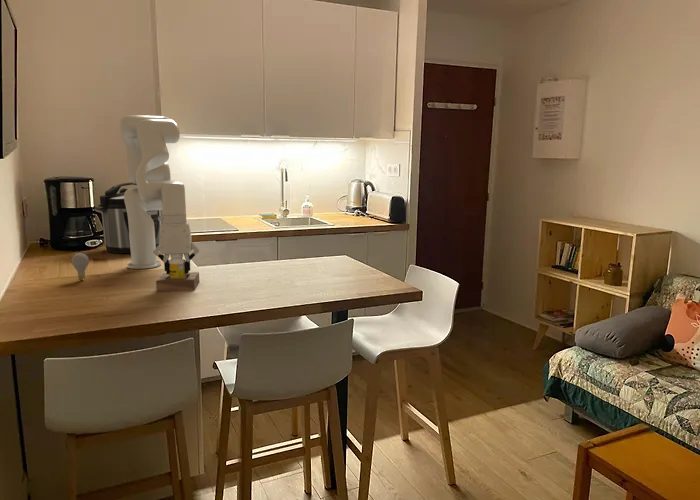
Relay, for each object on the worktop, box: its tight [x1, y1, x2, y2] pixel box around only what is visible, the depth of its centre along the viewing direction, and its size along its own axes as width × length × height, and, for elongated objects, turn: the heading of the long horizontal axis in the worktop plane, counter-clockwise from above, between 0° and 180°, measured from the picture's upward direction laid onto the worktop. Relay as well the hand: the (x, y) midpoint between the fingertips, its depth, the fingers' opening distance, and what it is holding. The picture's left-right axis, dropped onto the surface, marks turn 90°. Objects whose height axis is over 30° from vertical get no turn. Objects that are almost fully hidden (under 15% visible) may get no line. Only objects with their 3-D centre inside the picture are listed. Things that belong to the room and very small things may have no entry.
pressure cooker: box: [94, 182, 163, 254], centre depth 259 cm, size 30×28×32 cm
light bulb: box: [71, 252, 90, 281], centre depth 196 cm, size 6×5×10 cm
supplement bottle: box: [168, 254, 186, 279], centre depth 186 cm, size 5×5×10 cm
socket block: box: [155, 271, 200, 293], centre depth 187 cm, size 12×12×4 cm
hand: (177, 272), depth 186 cm, fingers closed on supplement bottle, 5 cm apart
